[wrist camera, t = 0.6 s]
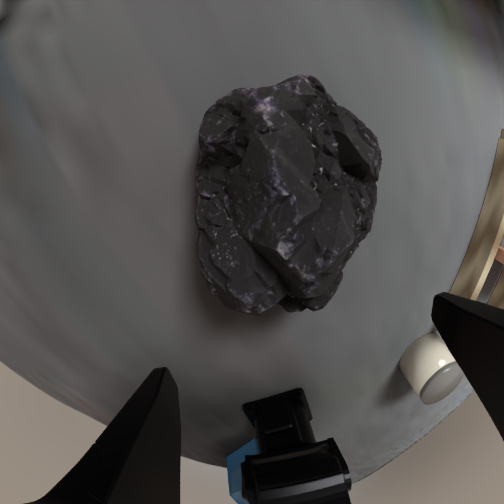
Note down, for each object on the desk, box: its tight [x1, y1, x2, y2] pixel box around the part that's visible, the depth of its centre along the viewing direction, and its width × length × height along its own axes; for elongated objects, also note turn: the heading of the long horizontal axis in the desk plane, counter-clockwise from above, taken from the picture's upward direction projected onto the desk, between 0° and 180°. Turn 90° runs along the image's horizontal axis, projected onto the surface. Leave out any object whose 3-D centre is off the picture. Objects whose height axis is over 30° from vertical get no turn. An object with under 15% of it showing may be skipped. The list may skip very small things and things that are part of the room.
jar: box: [399, 333, 464, 405], centre depth 27 cm, size 6×6×6 cm
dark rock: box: [195, 74, 382, 315], centre depth 16 cm, size 13×14×10 cm
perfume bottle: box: [226, 438, 260, 504], centre depth 28 cm, size 6×6×12 cm
